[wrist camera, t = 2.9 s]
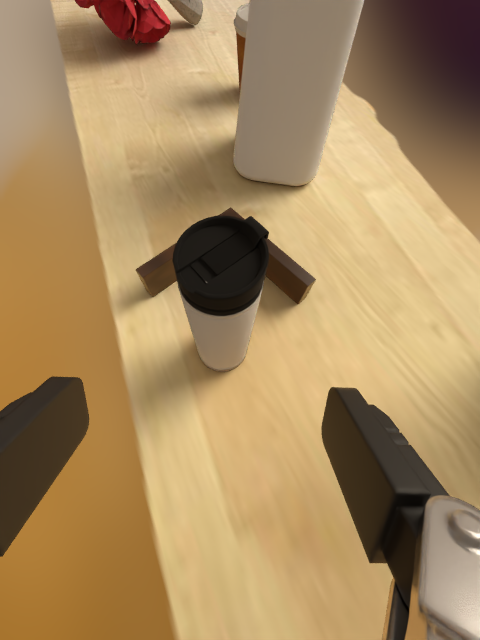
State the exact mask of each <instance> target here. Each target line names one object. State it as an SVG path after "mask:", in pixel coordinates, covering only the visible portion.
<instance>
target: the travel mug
mask: <svg viewBox="0 0 480 640" xmlns="http://www.w3.org/2000/svg"><path fill="white" fill-rule="evenodd" d="M268 234H269V232H268V231H267V230H266V229H265V228H264V227H263V226H262V225H261V224H260V223H259V222H258V221H256V220H255V219H254V218H253V217H252V216H250V217H248V218H247V219H245V220H243V219H241V218H237V217H234V216H214V217H209V218H206V219H203V220H201V221H199V222H197V223H195V224H193V225H192V226H191V227H189V228H188V229H187V230H186V231H185V232H184V233H183V234H182V235H181V237H180V238H179V240H178V241H177V243H176V245H175V248H174V252H173V260H172V261H173V265H174V269H175V274H176V279H177V281H178V288H179V291H180V295H181V298H182V301H183V304H184V308H185V311H186V314H187V317H188V321H189V324H190V327H191V330H192V334H193V337H194V340H195V343H196V347H197V350H198V353H199V356H200V359H201V360H202V362H203V363H204V364H205V365H206V366H207V367H209V368H210V369H212V370H215V371H230V370H232V369H234V368H236V367H237V366H239V365H240V364H241V363H242V361H243V360H244V358H245V355H246V352H247V348H248V344H249V340H250V336H251V332H252V329H253V325H254V321H255V317H256V313H257V309H258V305H259V301H260V297H261V293H262V290H263V284H264V279H265V275H266V271H267V267H268V261H269V249H268V245H267V242H266V240H265V239H267V238H268Z"/></svg>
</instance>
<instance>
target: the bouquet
mask: <svg viewBox="0 0 480 640" xmlns="http://www.w3.org/2000/svg"><path fill="white" fill-rule="evenodd" d="M168 1H169V2H170V3H171V4H172V6H173V7H174V8H175V9H176V10H177V11H178V13H179V14H180V15H181V16H182V17H183V18H184V19H185V20H187V21H188V22H189V23H191V24H194V25H196V24H198V23H199V21H200V19H201V17H202V12H203V4H202V0H168ZM75 2H76V3H77V4H78V5H79V6H80V7H82V8H89V7H90V6H93V5H94V7H95V10H96V12H97V13H98V15H99V17H100V18H102V20H103V21H104V23H105V24H106V25H107V27H108V28H109V29H110V30H111V31H112V33H113V34H115V35H116V36H117V37H119V38H121V39H122V40H127V39H128V38H129V37H130V38H131V39H132V41H133V40H134V39H135V43H136V44H137V43H138V41H139V42H141V43H155V42H157V41H159V40H160V39H161V38H164V36H165V35H166V34H167V33H168V32H169V30H170V24H171V23H170V21H169V19H168V17H167V16H166V14H165V13H164V12H163V10H162V9H161V8H160V6H159V5H158V4H157V2H156V1H154V0H75ZM135 3H136V5H135Z"/></svg>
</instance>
